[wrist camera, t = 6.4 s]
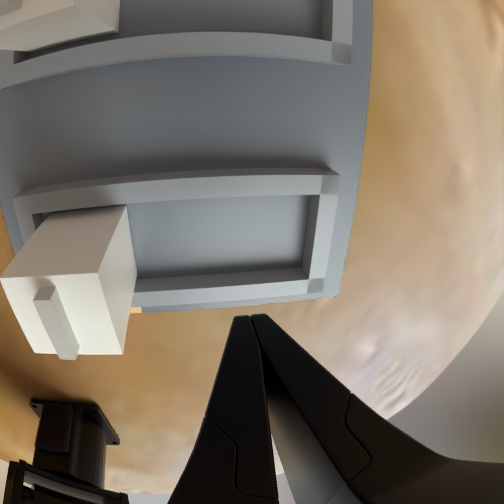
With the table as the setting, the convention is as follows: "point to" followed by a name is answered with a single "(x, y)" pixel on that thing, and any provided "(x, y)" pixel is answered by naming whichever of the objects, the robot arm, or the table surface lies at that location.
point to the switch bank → (200, 143)
